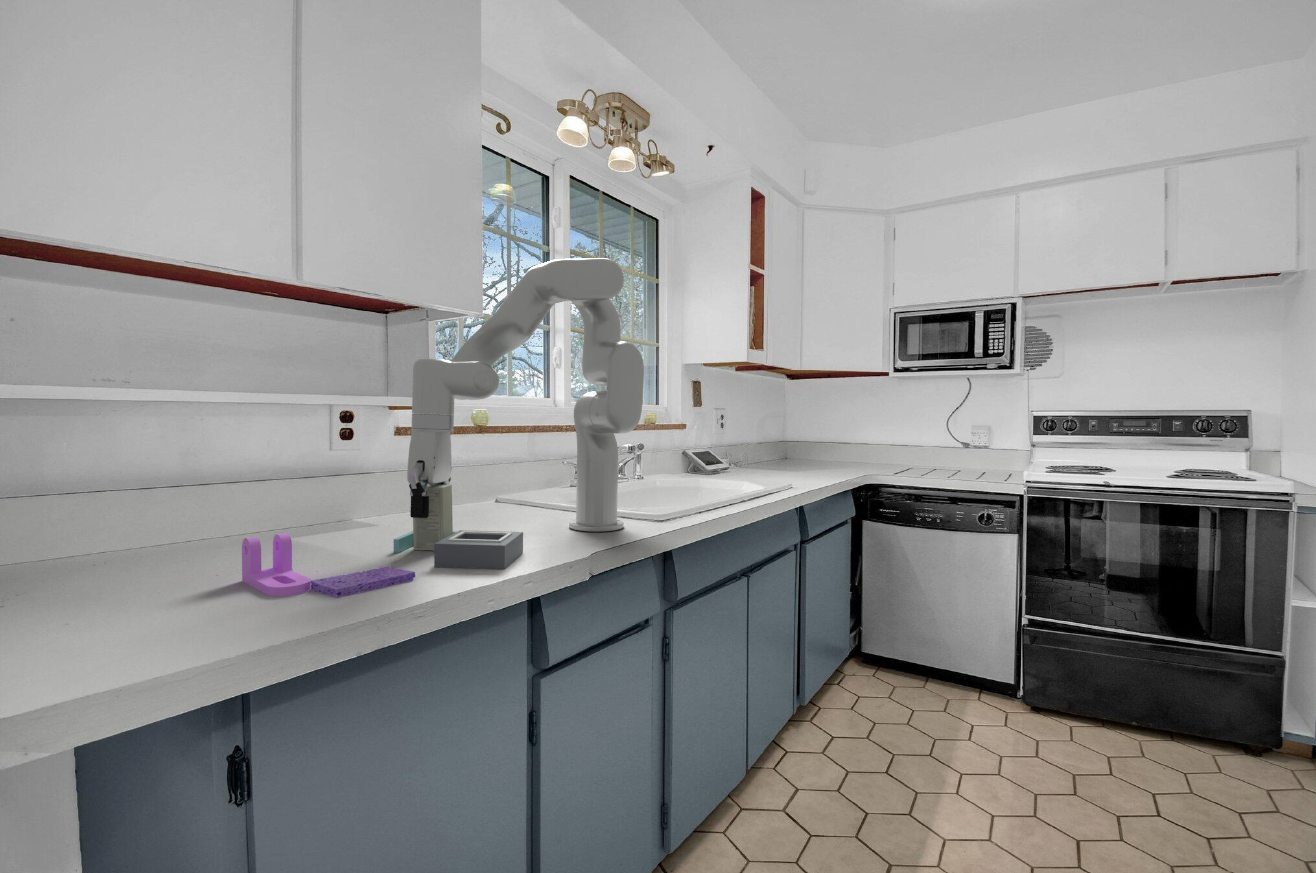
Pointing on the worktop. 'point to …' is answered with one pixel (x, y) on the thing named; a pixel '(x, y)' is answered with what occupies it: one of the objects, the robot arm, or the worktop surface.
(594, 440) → the robot arm
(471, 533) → the socket block
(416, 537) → the skincare box
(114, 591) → the worktop surface
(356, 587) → the sponges
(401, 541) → the teal l-shaped piece
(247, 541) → the bracket
